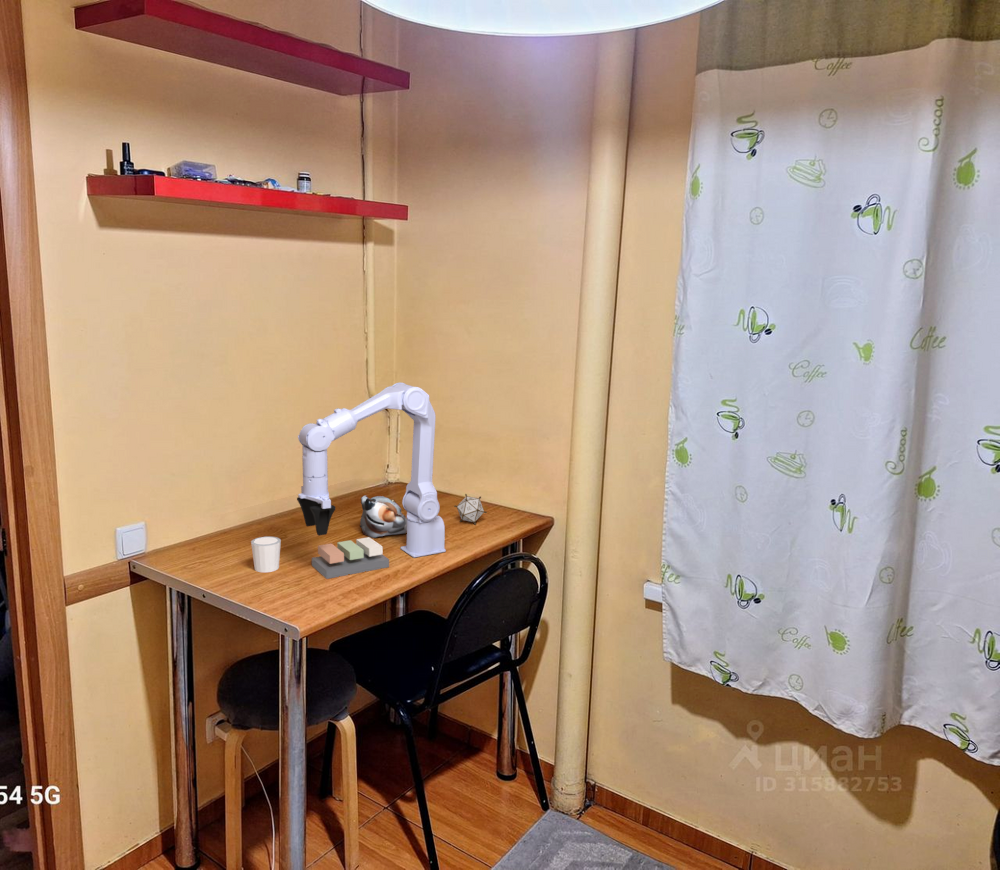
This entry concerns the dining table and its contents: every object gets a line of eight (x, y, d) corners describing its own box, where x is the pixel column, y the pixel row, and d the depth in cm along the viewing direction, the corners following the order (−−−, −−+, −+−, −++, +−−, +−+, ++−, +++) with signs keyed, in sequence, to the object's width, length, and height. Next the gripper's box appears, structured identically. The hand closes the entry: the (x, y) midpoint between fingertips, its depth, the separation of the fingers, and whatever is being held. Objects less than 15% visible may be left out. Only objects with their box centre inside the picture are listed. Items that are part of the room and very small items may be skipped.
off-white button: (369, 544, 201) (369, 537, 200) (382, 554, 194) (382, 546, 194) (356, 546, 199) (356, 539, 198) (369, 556, 192) (369, 548, 192)
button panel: (372, 554, 203) (372, 547, 202) (389, 567, 194) (389, 559, 194) (311, 565, 194) (311, 557, 194) (326, 578, 186) (326, 570, 185)
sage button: (350, 547, 198) (350, 540, 197) (363, 557, 191) (363, 549, 191) (337, 550, 196) (337, 542, 196) (349, 560, 189) (349, 552, 189)
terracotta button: (331, 551, 195) (331, 543, 195) (344, 561, 189) (343, 553, 188) (317, 553, 193) (317, 545, 193) (330, 563, 187) (329, 555, 186)
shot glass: (264, 575, 187) (263, 547, 185) (245, 568, 191) (244, 541, 189) (287, 567, 192) (286, 540, 191) (268, 561, 196) (268, 534, 195)
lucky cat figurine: (419, 529, 223) (419, 494, 214) (393, 556, 215) (392, 521, 206) (376, 507, 228) (375, 472, 219) (349, 532, 220) (347, 497, 211)
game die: (464, 533, 233) (454, 501, 237) (491, 523, 233) (481, 492, 236) (458, 526, 225) (448, 494, 228) (487, 516, 225) (476, 484, 228)
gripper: (288, 469, 190) (290, 524, 193) (309, 483, 178) (310, 541, 181) (316, 466, 194) (317, 519, 197) (339, 480, 182) (339, 536, 185)
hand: (316, 530), depth 189 cm, fingers open, 7 cm apart
